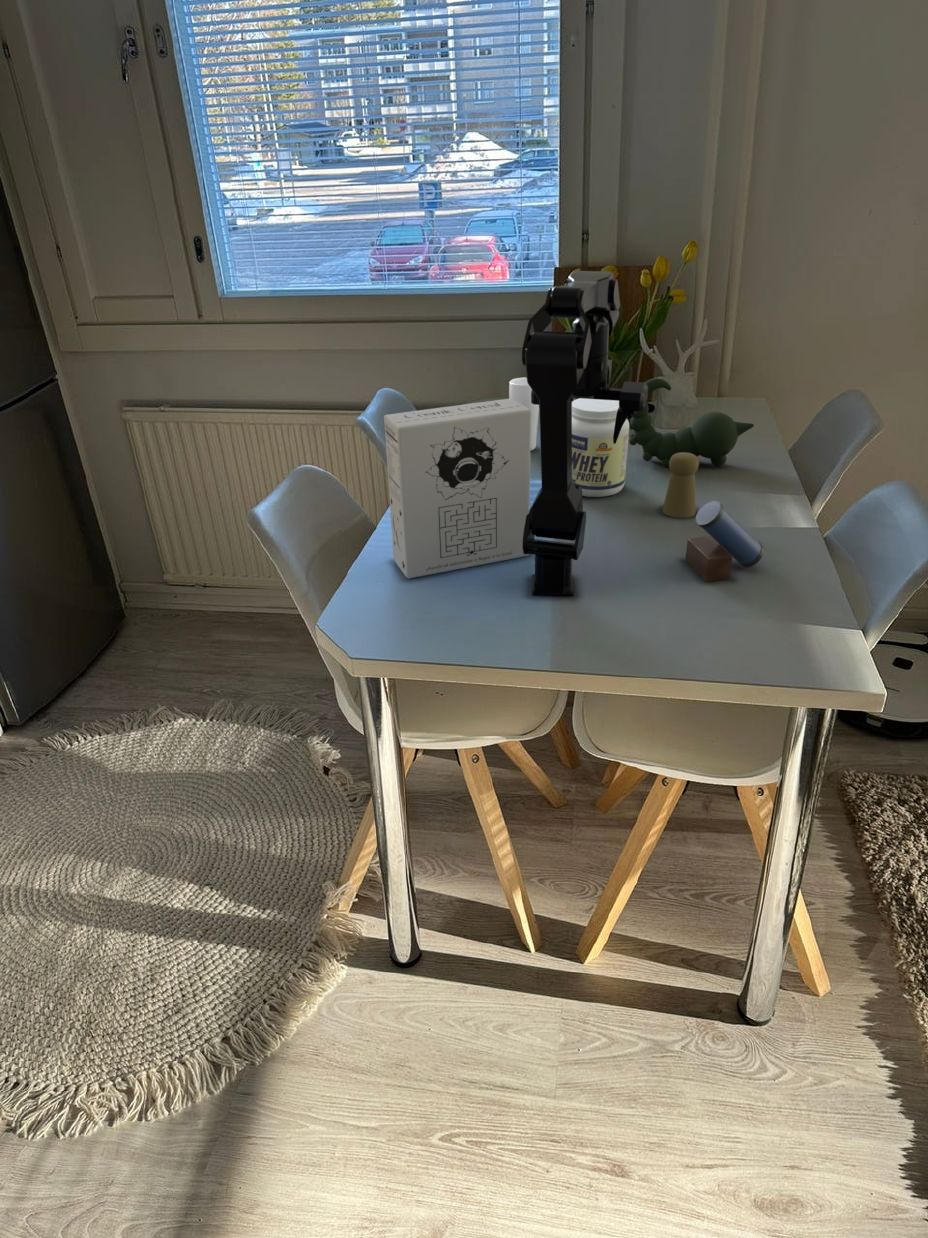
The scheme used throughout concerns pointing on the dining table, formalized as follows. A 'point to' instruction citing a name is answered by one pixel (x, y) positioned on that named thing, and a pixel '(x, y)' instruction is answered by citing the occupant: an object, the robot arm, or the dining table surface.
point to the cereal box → (458, 485)
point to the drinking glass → (525, 403)
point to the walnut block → (708, 559)
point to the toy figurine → (686, 434)
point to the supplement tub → (598, 447)
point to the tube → (730, 534)
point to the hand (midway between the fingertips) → (588, 440)
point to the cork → (681, 486)
